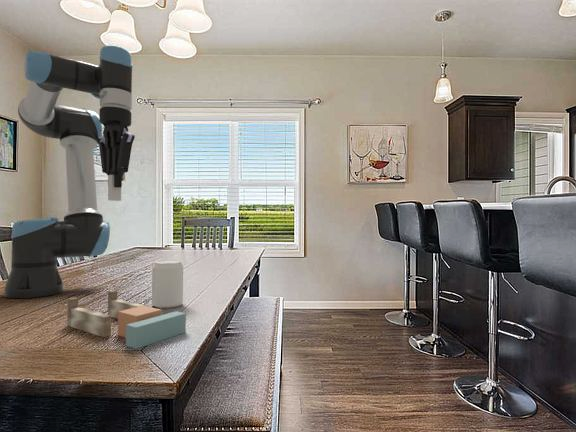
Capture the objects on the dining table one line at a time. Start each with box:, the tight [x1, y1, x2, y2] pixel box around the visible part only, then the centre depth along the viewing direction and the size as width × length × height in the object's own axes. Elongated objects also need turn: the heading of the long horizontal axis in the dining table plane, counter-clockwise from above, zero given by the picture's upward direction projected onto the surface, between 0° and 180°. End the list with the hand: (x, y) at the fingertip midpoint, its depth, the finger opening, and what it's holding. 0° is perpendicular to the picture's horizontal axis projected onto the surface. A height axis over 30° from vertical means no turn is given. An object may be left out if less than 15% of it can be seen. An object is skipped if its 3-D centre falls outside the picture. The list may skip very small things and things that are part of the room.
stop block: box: [125, 310, 187, 350], centre depth 74 cm, size 3×12×4 cm, turn 148°
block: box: [117, 305, 162, 339], centre depth 77 cm, size 6×6×5 cm
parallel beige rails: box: [66, 289, 151, 338], centre depth 83 cm, size 14×11×6 cm
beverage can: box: [151, 259, 184, 309], centre depth 101 cm, size 8×8×12 cm
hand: (114, 200), depth 96 cm, fingers closed
